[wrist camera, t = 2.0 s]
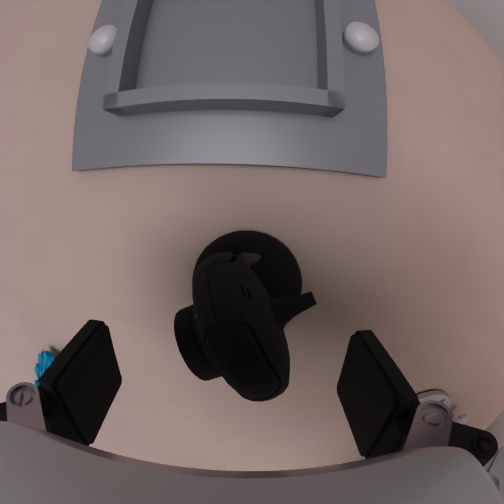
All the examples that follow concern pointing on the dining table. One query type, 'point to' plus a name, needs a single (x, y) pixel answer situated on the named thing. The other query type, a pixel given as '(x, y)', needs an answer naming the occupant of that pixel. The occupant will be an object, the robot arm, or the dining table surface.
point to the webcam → (242, 314)
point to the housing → (234, 85)
